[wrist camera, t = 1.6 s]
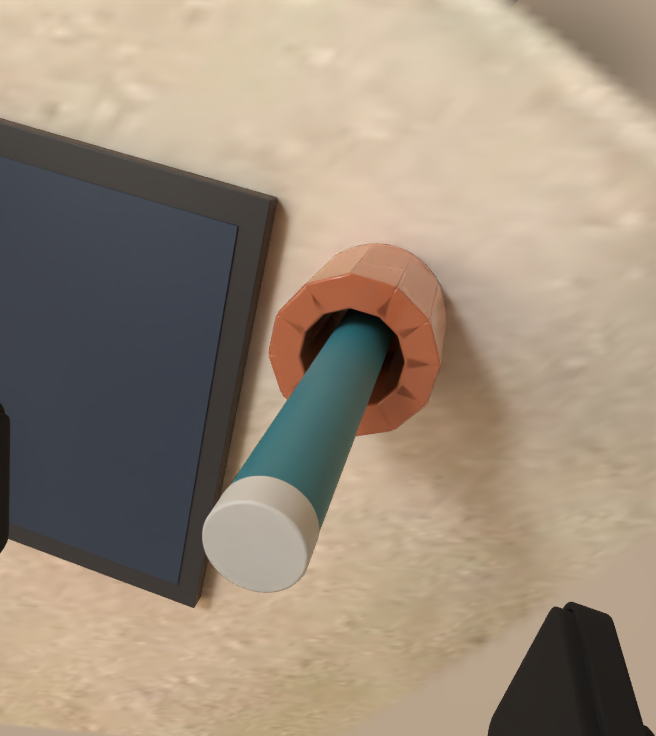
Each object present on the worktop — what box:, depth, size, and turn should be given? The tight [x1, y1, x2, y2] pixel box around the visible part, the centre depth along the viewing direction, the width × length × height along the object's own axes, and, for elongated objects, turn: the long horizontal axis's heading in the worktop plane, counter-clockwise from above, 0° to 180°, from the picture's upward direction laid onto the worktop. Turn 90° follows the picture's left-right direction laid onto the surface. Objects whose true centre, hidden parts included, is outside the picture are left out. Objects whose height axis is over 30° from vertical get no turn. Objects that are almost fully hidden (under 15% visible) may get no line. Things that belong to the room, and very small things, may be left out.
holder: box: [269, 244, 447, 436], centre depth 19 cm, size 5×5×5 cm
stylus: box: [202, 309, 394, 593], centre depth 15 cm, size 2×2×13 cm
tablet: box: [0, 118, 277, 608], centre depth 25 cm, size 20×13×1 cm, turn 166°
